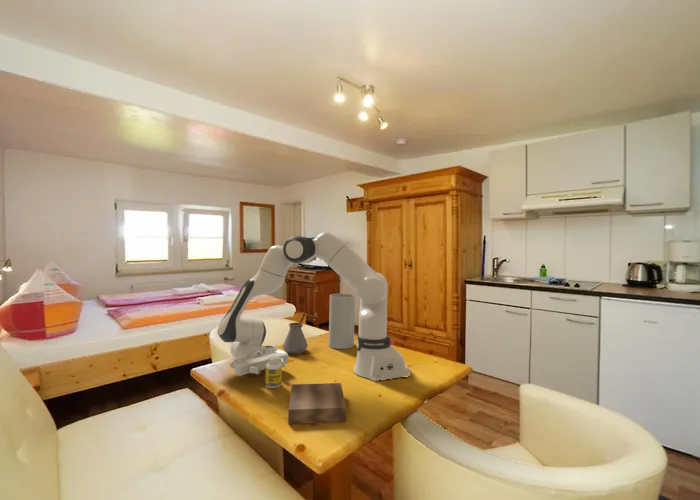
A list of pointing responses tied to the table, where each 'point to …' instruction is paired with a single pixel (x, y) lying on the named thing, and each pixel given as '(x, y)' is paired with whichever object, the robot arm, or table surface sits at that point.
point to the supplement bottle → (273, 372)
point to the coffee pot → (295, 339)
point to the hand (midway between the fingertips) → (271, 368)
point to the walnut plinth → (316, 403)
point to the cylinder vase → (341, 321)
